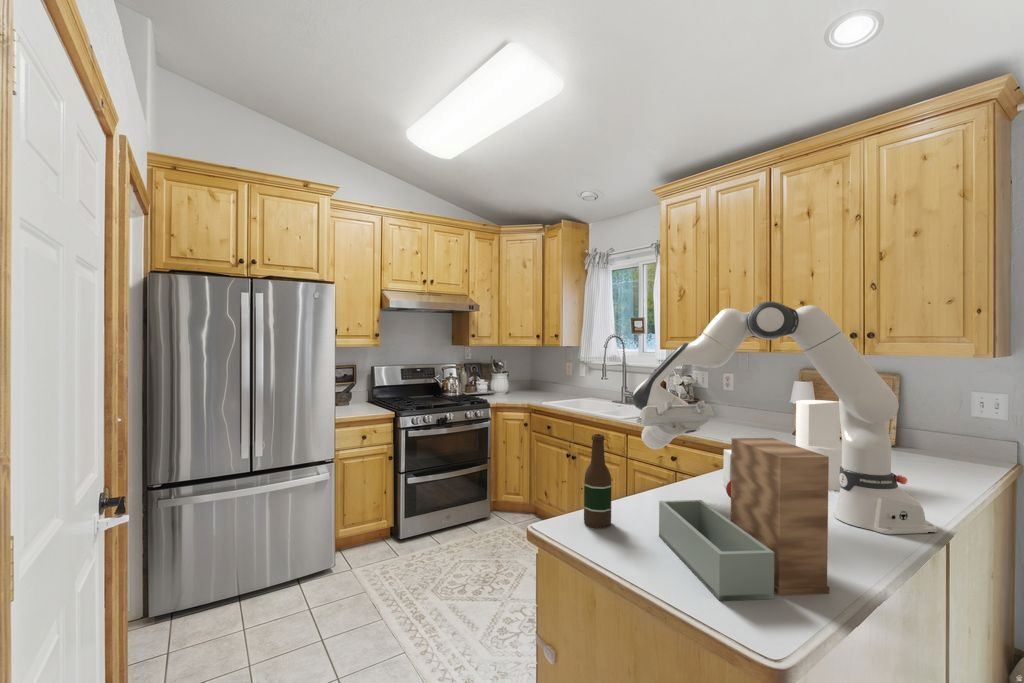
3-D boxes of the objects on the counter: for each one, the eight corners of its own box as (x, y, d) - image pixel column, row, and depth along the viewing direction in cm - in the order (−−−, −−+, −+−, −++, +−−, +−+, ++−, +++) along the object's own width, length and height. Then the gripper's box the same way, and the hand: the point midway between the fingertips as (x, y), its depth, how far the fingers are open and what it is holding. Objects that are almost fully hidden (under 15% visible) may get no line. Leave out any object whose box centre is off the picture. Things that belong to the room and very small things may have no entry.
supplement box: (729, 492, 157) (729, 453, 157) (722, 485, 165) (723, 448, 165) (753, 493, 156) (753, 454, 156) (745, 486, 164) (746, 449, 164)
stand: (728, 552, 113) (729, 437, 113) (771, 551, 114) (772, 437, 113) (778, 595, 94) (780, 457, 94) (829, 593, 95) (831, 457, 95)
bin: (658, 536, 122) (659, 500, 122) (700, 535, 123) (701, 500, 123) (719, 600, 92) (719, 554, 92) (773, 598, 93) (774, 552, 93)
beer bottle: (605, 531, 125) (606, 439, 125) (578, 525, 129) (578, 435, 129) (616, 521, 132) (616, 434, 131) (589, 516, 136) (590, 431, 136)
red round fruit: (749, 506, 145) (749, 479, 145) (728, 504, 146) (728, 478, 146) (743, 499, 150) (744, 474, 150) (724, 498, 152) (724, 472, 151)
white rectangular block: (784, 479, 173) (785, 401, 172) (815, 473, 180) (816, 398, 180) (833, 493, 157) (835, 407, 157) (865, 487, 164) (866, 405, 164)
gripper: (632, 413, 144) (646, 394, 132) (698, 411, 146) (717, 392, 134) (636, 433, 141) (651, 416, 129) (703, 430, 143) (724, 413, 131)
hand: (685, 404), depth 132 cm, fingers open, 8 cm apart
